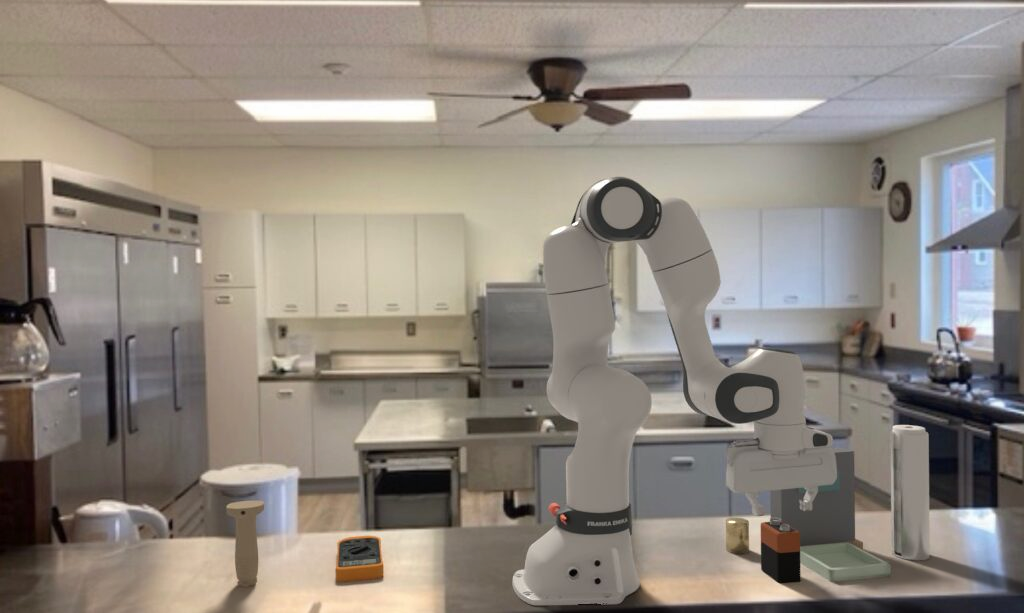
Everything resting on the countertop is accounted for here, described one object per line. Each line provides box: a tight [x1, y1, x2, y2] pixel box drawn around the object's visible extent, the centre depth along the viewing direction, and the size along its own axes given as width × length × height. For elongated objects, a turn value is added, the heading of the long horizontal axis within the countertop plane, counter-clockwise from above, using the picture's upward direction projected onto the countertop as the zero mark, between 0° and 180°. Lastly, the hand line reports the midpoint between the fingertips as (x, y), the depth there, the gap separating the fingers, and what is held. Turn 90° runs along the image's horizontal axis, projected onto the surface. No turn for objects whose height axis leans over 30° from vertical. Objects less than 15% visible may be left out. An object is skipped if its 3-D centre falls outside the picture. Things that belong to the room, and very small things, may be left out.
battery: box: [760, 517, 802, 584], centre depth 133 cm, size 4×7×10 cm, turn 9°
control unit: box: [769, 446, 864, 550], centre depth 146 cm, size 18×6×20 cm, turn 101°
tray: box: [800, 542, 892, 583], centre depth 137 cm, size 12×12×2 cm
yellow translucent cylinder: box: [725, 517, 750, 555], centre depth 146 cm, size 4×4×6 cm
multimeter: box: [335, 535, 384, 583], centre depth 142 cm, size 9×18×3 cm, turn 12°
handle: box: [225, 500, 265, 588], centre depth 133 cm, size 5×6×15 cm
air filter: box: [889, 424, 931, 562], centre depth 142 cm, size 6×6×25 cm
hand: (782, 512), depth 132 cm, fingers open, 8 cm apart
